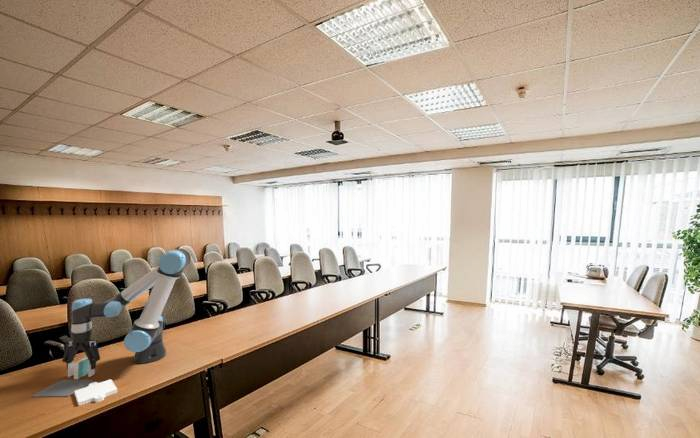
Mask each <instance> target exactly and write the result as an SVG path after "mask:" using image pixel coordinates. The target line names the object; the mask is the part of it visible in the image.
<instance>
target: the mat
mask: <svg viewBox="0 0 700 438" xmlns="http://www.w3.org/2000/svg"><path fill="white" fill-rule="evenodd" d="M93 382H95V381H94V379H60V380H58V381H56V382H54V383H53V384H51V385H49V386H47V387H45V388H43V389H42V390H40V391H38V392H36V393H34V394H33V395H31V397H32V398H44V397H45V398H52V397H53V398H54V397H55V398H65V397H66V398H68V397H71V396H72V395H74V391H75V390H78V389H82V388H85V387H87V386H89V384H90V383H93Z"/></svg>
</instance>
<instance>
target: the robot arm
mask: <svg viewBox="0 0 700 438" xmlns="http://www.w3.org/2000/svg"><path fill="white" fill-rule="evenodd" d="M190 262H191V255H190V252H189V251H188V250H186V249H184V248H175V249H171V250H169V251H166V252H165V253H164V254H162V255H161V256H160V257H159V259H158V266H156V267H154V268H153V269H151V271H149V272H148V273H146V274H145V275H143V276H142V277H140V278H139V279H137V280H136V281H135V282H133V283H132V284H131V285H128V287H126V288H125V289H123V290H122V291H121V292H119V293H118V294H116V295H115V296H113V297H112V298H110V299H107V300H106V301H104V302H100V301H99V302H93V299H92V298H79V299H76V300H74V301H73V302H72V304H71V328H70V329H71V333H70V334H71V335H70V338H71V340H70V341H67V342H65V349H64V354H63V357H62V361H61V362H62V363H65V364H66V370H67V378H70V377H72V376H74V363H75V362H76V361H75V357H76V355H77V354H78V352H79V351H82V352H83V353H84V354H85V356H86V357H87V358H88V360H89V364H88V375H87V377H88V378H91V377H92V376H94V375H95V369H96V367H97V362H98V361H100V360H101V356H100V352H99V347H98V340H95V341H94V340H93V341H92V340H91V338H92V336H93V335H92V334H93V332H92V331H93V330H92V327H93V324H92V322H93V321H92V319H99V318H100V319H101V318H112V317H117V316H119V315H120V314H121V312H122V309H124V308H125V307H126V306H128V305H129V304H130V303H131V302H133V301H134V300H136V299H137V298H138V297H140V296H141V295H143V294H144V293H146V292H147V291H149V290H150V289H152V290H151V292H150V294H149V297H148V298H147V301H146V303H145V305H144V308H143V310H142V312H141V315H140V317H139V318H138V319H135V320H134V322H133V324H132V327H131V329H130V331H129V332H128V333H127V334H126V336H125V338H124V339H123V344H124V347H125V348H126V350H128V351H130V352H132V353H135V354H134V355H133V361H134V362H133V363H136V364H148V363H153V362H156V361H158V360H161V359H163V358H164V357H166V355H167V348H166V347H165V344H164V339H163V337H164V336H163V334H164V332H163V331H164V320H163V319H164V318H163V316H162V312H163V310H164V308H165V306H166V303H167V302H168V300H169V299H168V298H170V294H171V292H172V290H173V287H174V284H175V282H176V280H178V279H181V277H182V274H183V272H184V270H185V268H186V267H187V266H189V264H190Z"/></svg>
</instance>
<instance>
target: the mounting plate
mask: <svg viewBox="0 0 700 438" xmlns="http://www.w3.org/2000/svg"><path fill="white" fill-rule="evenodd" d="M117 393H118V388H117V385H115V383H114V381H113V380H112V379H110V378H109V379H107V380H105V381H99V382H97V381H93V382H91V383H89V384H88V385H87V386H85V387H83V388H81V389H78V390H75V391H74V393H73V395H74V397H76V398H75V400H76V402H77V405H81V406H83V405H85V403H86V404H89V403H93V402H94V403H99V402H102V401H104V400H105V398H106V397H108V396H111V395H115V394H117ZM88 402H89V403H88ZM82 404H83V405H82Z"/></svg>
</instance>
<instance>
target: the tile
mask: <svg viewBox="0 0 700 438" xmlns="http://www.w3.org/2000/svg"><path fill="white" fill-rule="evenodd" d="M89 363H90V361H89V360H88V358H87V356H86V357H85V356H84V357H83V358H81V359H79V360H77V361H75V363H74V375H73V380H80V379H81V378H82V377H84V376H86V375H87V374H88V364H89Z"/></svg>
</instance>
